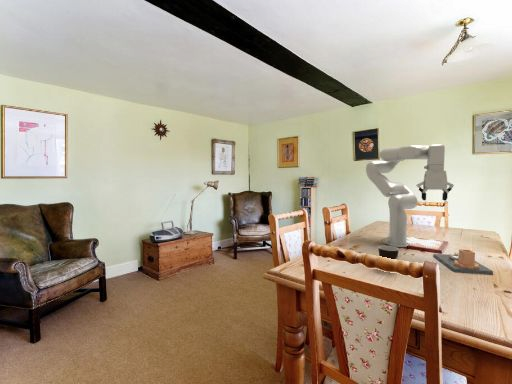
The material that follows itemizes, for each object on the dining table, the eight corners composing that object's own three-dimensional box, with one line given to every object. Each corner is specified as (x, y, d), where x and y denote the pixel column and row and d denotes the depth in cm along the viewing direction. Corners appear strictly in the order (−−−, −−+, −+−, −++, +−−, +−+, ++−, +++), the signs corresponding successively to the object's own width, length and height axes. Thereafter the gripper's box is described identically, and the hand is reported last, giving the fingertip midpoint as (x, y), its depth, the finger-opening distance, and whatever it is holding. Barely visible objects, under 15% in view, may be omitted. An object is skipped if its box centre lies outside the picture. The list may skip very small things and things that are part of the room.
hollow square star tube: (459, 268, 122) (459, 253, 122) (448, 261, 132) (449, 247, 131) (485, 270, 120) (486, 254, 119) (472, 262, 130) (473, 248, 129)
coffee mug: (390, 273, 121) (390, 251, 120) (373, 267, 129) (374, 247, 128) (406, 268, 126) (406, 248, 126) (389, 263, 134) (390, 243, 133)
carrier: (454, 272, 122) (454, 256, 121) (433, 256, 144) (433, 243, 144) (492, 274, 118) (493, 259, 118) (465, 258, 141) (465, 245, 140)
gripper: (419, 168, 140) (418, 200, 142) (457, 167, 137) (456, 201, 138) (414, 168, 148) (413, 199, 149) (450, 168, 144) (449, 199, 145)
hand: (434, 200), depth 143 cm, fingers open, 9 cm apart
